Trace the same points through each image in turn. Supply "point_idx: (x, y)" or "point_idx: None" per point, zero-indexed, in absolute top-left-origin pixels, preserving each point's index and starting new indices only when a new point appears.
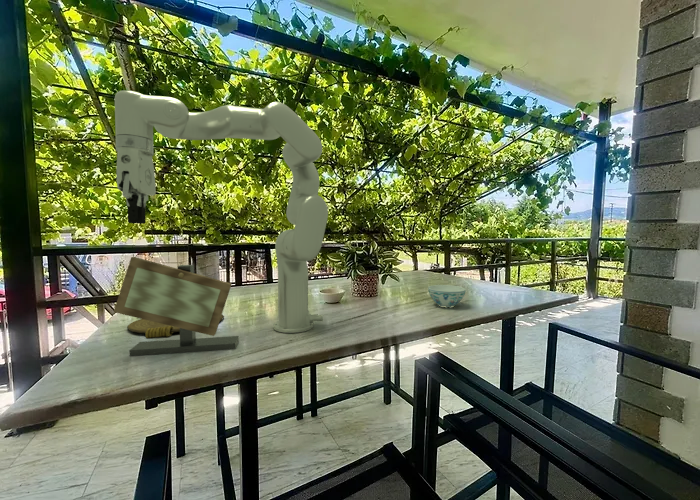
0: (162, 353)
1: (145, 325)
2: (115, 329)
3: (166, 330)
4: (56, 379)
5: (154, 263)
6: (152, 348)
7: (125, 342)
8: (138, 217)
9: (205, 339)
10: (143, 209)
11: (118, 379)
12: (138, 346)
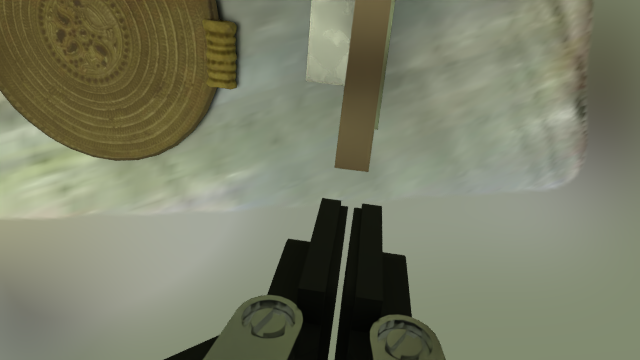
0: None
1: (148, 112)
2: (146, 182)
3: (231, 31)
4: (454, 179)
5: (377, 57)
6: None
7: (258, 126)
8: (386, 257)
9: None
10: (337, 279)
11: (510, 62)
12: (343, 74)
